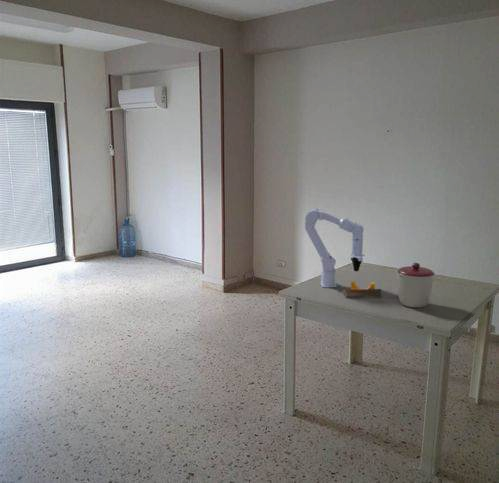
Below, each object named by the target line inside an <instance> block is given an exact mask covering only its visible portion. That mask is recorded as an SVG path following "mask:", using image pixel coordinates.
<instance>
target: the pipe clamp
mask: <svg viewBox="0 0 499 483" xmlns="http://www.w3.org/2000/svg"><path fill="white" fill-rule="evenodd" d="M355 289H361V288H359V287H358V286H357V283H356V280H355V281H354V280H351V281H350V290H355ZM366 289H376V282H372V281H371V282H370V285H369V287H367V288H366Z"/></svg>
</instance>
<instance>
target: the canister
mask: <svg viewBox="0 0 499 483" xmlns="http://www.w3.org/2000/svg"><path fill="white" fill-rule="evenodd" d="M395 273H396V274H397V290H398V291H397V292H398V300H399V303H400V304H401V305H403V306H405V307H408V308H413V309H416V308H420V309H421V308H424V307H426V306H428V304H429V302H430V299H431V293H432V288H433V282H434V278H435V276H436V272H434V271H433V270H432V269H430V268H427V267H421V265H420V263H419V262H414V263H412V264H411V266H410V265H409V266H402V267H400V268H398V269H396V270H395Z"/></svg>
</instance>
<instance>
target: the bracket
mask: <svg viewBox="0 0 499 483" xmlns="http://www.w3.org/2000/svg"><path fill="white" fill-rule="evenodd" d="M381 292H382V289H381V288H375V289H367V288H365V289H363V288H360V289H355V290H351V289H344V290H343V291H342V295H343V294H344V295H343V296H344V297H345V298H346V299H348V298H349V299H353V298H380V297H381ZM351 297H352V298H351Z"/></svg>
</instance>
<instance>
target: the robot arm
mask: <svg viewBox="0 0 499 483" xmlns="http://www.w3.org/2000/svg"><path fill="white" fill-rule="evenodd" d="M304 219H305V221H304V228H305V231H306V234H307V235H308V237H309V239H310V240H311V242H312V244H313V246H314V248H315V250H316V251H317V253H318V255H319V257H320V262H321V263H322V269H321V270H322V271H321V273H320V274H321V279H320V280H321V281H319V285H321V287H322V288H337V287H338V285H337V284H336V268H335V266H336V259H335V258H334V257H333V256H332V255H331V253H330V252H329V251H328V249H327V248H326V246H325V244H324V243H323V240H322V238H321V237H320V234H319V233H318V231H317V228H316V227H315V226H316V223H317V221H322V220H325V221H328V222H330V223H333V224H336V225H337V226H338V228H339V229H341V230H343V231H346V232H348V233H352V238H351V252H350V253H351V254H350V255H351V256H350V260H351V262H352V267H353V271H354V272H360V267H361V264H362V262H363V260H364V259H363V257H365V254H364V253H363V249H364V248H363V245H364V238H363V237H364V226H363V225H362V224H360V223H357V222H354V221H351V220H349V218H339V217H338V216H335V215H332V214H331V213H328V212H326V211H323V209H322V210H321V209H318V208H315V207H313V208H311V209H310V210H309V211H307V214H306V215H305V218H304Z"/></svg>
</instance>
